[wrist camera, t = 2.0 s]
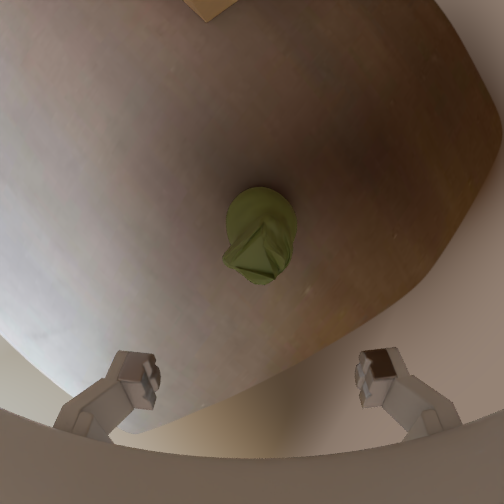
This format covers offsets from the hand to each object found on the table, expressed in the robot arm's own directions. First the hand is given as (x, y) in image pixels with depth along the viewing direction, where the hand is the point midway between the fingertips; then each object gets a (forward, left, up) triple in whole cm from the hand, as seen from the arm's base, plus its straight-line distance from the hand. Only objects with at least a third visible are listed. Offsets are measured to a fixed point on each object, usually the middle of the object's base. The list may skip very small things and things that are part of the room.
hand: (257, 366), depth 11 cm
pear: (0, 0, -18) cm, 18 cm away
